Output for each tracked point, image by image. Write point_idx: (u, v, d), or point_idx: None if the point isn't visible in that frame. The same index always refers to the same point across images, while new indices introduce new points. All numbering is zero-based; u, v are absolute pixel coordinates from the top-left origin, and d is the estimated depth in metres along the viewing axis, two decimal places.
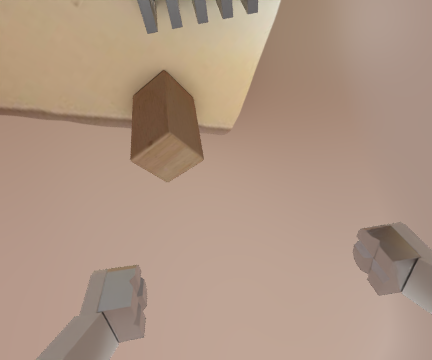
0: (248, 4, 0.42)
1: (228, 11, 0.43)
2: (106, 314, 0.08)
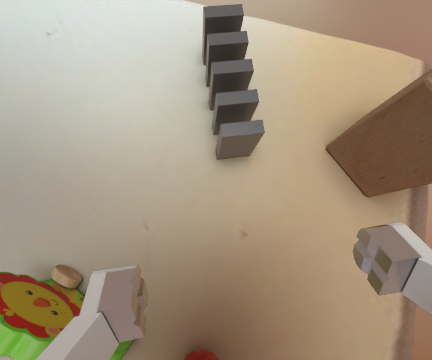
0: (233, 14, 0.36)
1: (239, 35, 0.35)
2: (106, 314, 0.08)
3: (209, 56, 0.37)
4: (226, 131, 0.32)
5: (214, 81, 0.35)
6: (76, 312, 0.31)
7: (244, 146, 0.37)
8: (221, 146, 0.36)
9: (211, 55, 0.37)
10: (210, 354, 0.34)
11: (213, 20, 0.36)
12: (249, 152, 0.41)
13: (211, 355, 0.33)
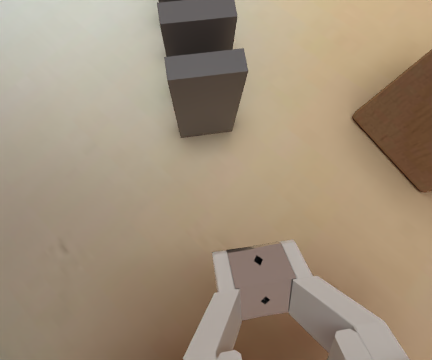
0: None
1: None
2: (242, 291, 0.08)
3: None
4: (174, 70, 0.17)
5: None
6: None
7: (218, 109, 0.22)
8: (175, 107, 0.20)
9: None
10: None
11: None
12: (230, 123, 0.25)
13: None
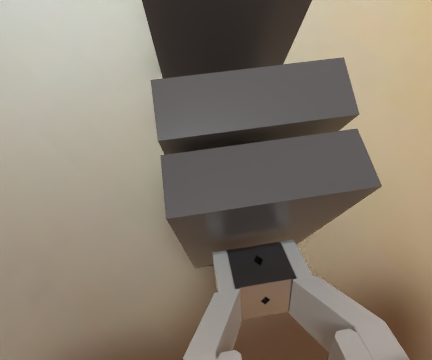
0: None
1: None
2: (242, 291, 0.08)
3: None
4: (187, 188, 0.06)
5: (159, 38, 0.09)
6: None
7: (274, 239, 0.11)
8: (187, 246, 0.09)
9: None
10: None
11: None
12: None
13: None
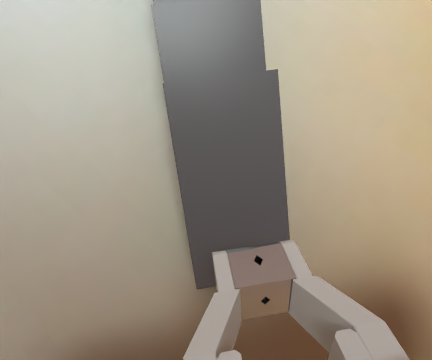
0: None
1: None
2: (242, 291, 0.08)
3: None
4: None
5: None
6: None
7: (252, 181, 0.13)
8: (179, 166, 0.13)
9: None
10: None
11: None
12: (283, 240, 0.14)
13: None
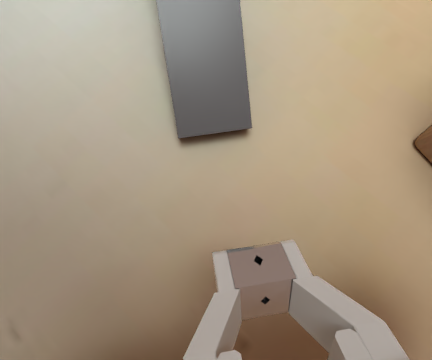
0: None
1: None
2: (242, 291, 0.08)
3: None
4: None
5: None
6: None
7: (219, 48, 0.17)
8: (164, 33, 0.17)
9: None
10: None
11: None
12: (244, 99, 0.18)
13: None
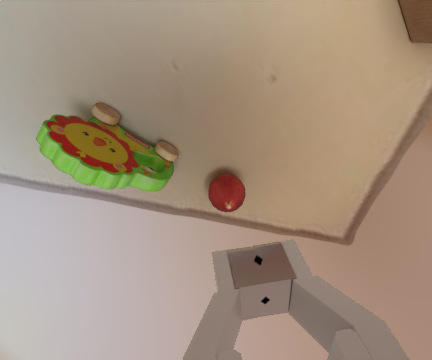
0: None
1: None
2: (242, 291, 0.08)
3: None
4: None
5: None
6: (126, 147, 0.37)
7: None
8: None
9: None
10: (235, 178, 0.43)
11: None
12: None
13: (235, 179, 0.43)
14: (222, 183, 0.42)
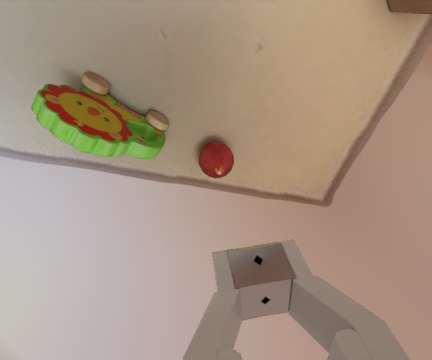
0: None
1: None
2: (242, 291, 0.08)
3: None
4: None
5: None
6: (119, 117, 0.38)
7: None
8: None
9: None
10: (224, 145, 0.45)
11: None
12: None
13: (224, 146, 0.45)
14: (211, 151, 0.44)
